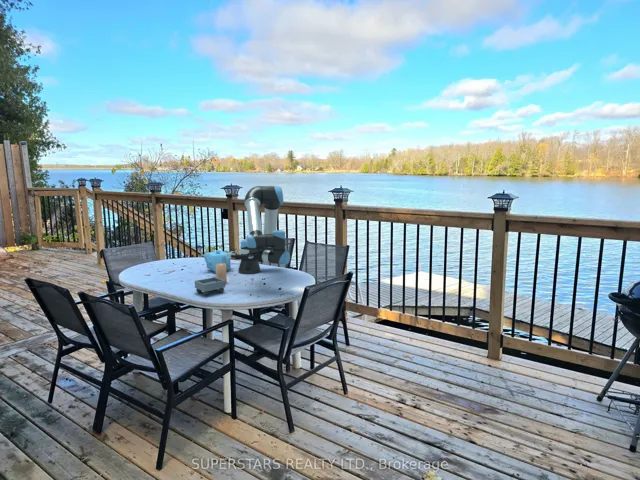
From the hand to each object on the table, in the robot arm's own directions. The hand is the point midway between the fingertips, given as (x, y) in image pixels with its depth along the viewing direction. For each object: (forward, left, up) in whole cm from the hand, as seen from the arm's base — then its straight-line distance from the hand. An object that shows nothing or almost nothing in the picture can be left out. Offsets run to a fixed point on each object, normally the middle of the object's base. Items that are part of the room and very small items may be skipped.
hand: (233, 253), depth 240 cm
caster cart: (+19, +5, -20) cm, 28 cm away
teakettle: (-11, -37, -20) cm, 43 cm away
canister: (+4, -9, -20) cm, 22 cm away
